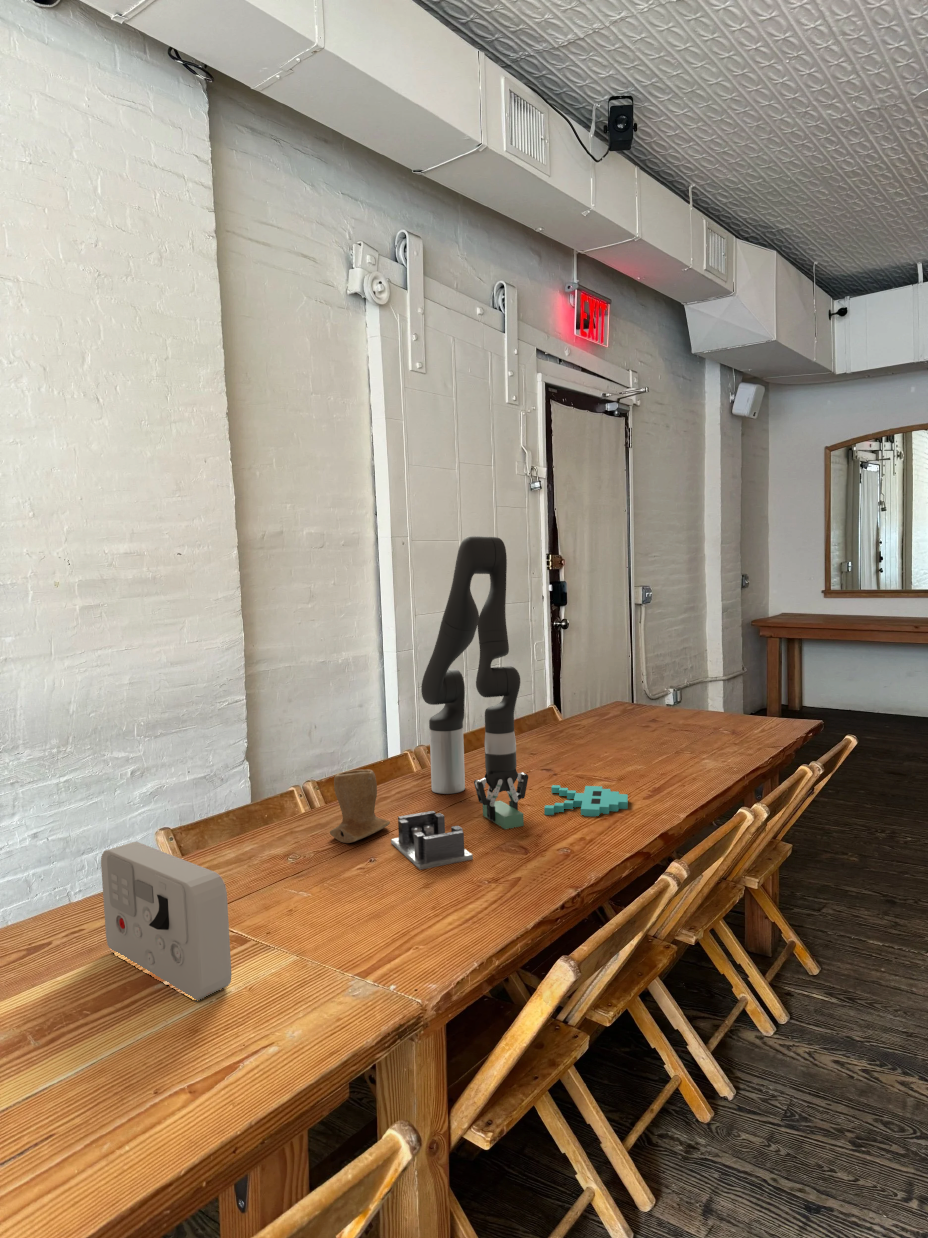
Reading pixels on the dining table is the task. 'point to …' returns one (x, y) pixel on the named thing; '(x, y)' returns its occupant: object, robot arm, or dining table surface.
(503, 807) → the green block
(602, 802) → the alien figure
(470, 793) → the dining table surface
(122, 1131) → the dining table surface
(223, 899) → the grey button box
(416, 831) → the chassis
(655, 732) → the dining table surface
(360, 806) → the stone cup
